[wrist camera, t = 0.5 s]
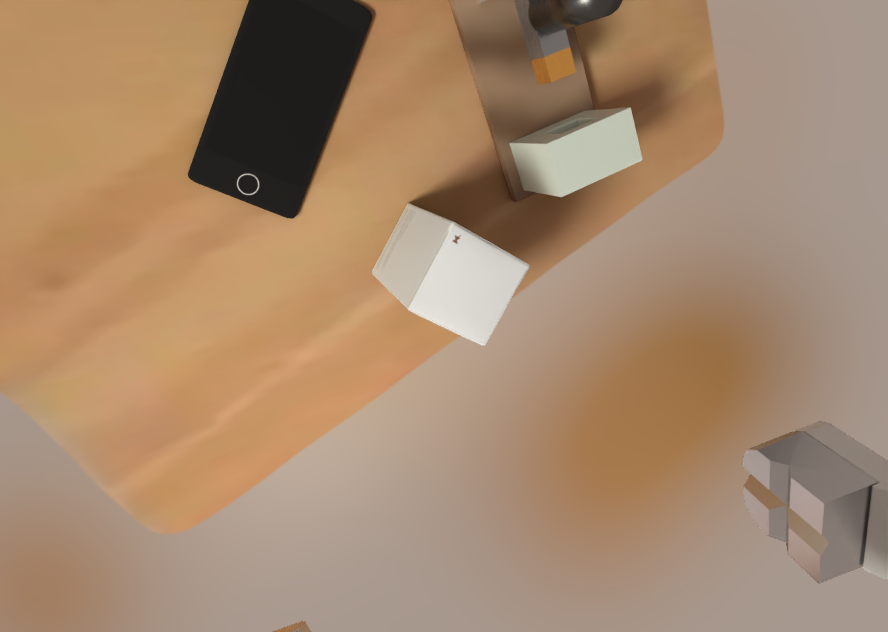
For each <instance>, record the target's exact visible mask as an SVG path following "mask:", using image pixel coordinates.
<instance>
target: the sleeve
mask: <svg viewBox="0 0 888 632" xmlns="http://www.w3.org/2000/svg"><path fill="white" fill-rule="evenodd" d="M477 1H478V4H481V3H484V2H487V1H489V0H477Z"/></svg>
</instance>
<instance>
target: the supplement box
mask: <svg viewBox="0 0 888 632" xmlns="http://www.w3.org/2000/svg"><path fill="white" fill-rule="evenodd" d="M528 269H529V265H528V264H527V263H525V262H524V261H522V260H520V259H518V258H517V257H515V256H513V255H511V254H510V253H508V252H506V251H504V250H503V249H501V248H499V247H497V246H496V245H494V244H492V243H491V242H489V241H487V240H485V239H483V238H482V237H480V236H478V235H476V234H474V233H473V232H471V231H469V230H467V229H466V228H464V227H462V226H460V225H459V224H457V223H455V222H453V221H451V220H449V219H446V218H444V217H441V216H439V215H437V214H434V213H432V212H429V211H427V210H424V209H422V208H419V207H417V206H415V205H412V204H410V203H408V204H407V206H406V208H405V210H404V212H403V213H402V215H401V217H400V219H399V221H398V223H397V225H396V227H395V228H394V230H393V232H392V234H391V236H390V238H389V240H388V242H387V243H386V245H385V247H384V249H383V251H382V253H381V255H380V257H379V259H378V261H377V262H376V264H375V266H374V268H373V270H372V274H373V275H374V276H375V277H376V278H377V279H378V280H379V281H380V282H381V283H382V284H383V285H384V286H385V287H386V288H387V289H388V290H389V291H390V292H391V293H392V294H393V295H394V296H395V297H396V298H397V299H398V300H399V301H400V302H401V303H402V304H403V305H404V306H405V307H406V308H407V309H408V310H409V311H411V312H413V313H415V314H417V315H419V316H421V317H423V318H425V319H427V320H429V321H431V322H433V323H435V324H437V325H439V326H441V327H443V328H446V329H448V330H450V331H452V332H454V333H456V334H458V335H460V336H463V337H465V338H467V339H469V340H471V341H473V342H475V343H478V344H480V345H482V346H485V345H486V343H487V341H488V339H489V337H490V336H491V333H492V332H493V330H494V329H495V327H496V325H497V323H498V321H499V319H500V318H501V316H502V314H503V312H504V310H505V309H506V307H507V305H508V303H509V302H510V300H511V298H512V297H513V295H514V293H515V291H516V290H517V288H518V286H519V285H520V283H521V281H522V280H523V278H524V276H525V274H526V273H527V271H528Z"/></svg>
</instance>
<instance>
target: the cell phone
mask: <svg viewBox="0 0 888 632" xmlns="http://www.w3.org/2000/svg"><path fill="white" fill-rule="evenodd" d="M371 19H372V14H371V12H370V11H369V10H368V9H367V8H365V7H364V6H362V5H360V4H359V3H357V2H355V1H353V0H249V2H248V5H247V8H246V11H245V13H244V16H243V19H242V22H241V25H240V28H239V30H238V33H237V36H236V39H235V42H234V45H233V47H232V50H231V53H230V56H229V59H228V62H227V64H226V67H225V70H224V73H223V76H222V78H221V81H220V84H219V87H218V90H217V93H216V95H215V98H214V101H213V104H212V107H211V110H210V112H209V115H208V118H207V121H206V124H205V127H204V129H203V132H202V135H201V138H200V141H199V144H198V146H197V149H196V152H195V155H194V158H193V161H192V163H191V166H190V169H189V172H188V176H189V178H190V179H191V180H193V181H194V182H196V183H199V184H201V185H204V186H206V187H209V188H211V189H214V190H216V191H219V192H222V193H224V194H227V195H229V196H232V197H234V198H237V199H240V200H242V201H245V202H247V203H250V204H252V205H255V206H258V207H260V208H263V209H265V210H268V211H270V212H273V213H276V214H278V215H281V216H283V217H287V218H294V217H295V216H296V215H297V212H298V210H299V207H300V205H301V202H302V199H303V197H304V194H305V191H306V189H307V186H308V184H309V181H310V178H311V176H312V173H313V171H314V168H315V165H316V163H317V160H318V158H319V155H320V152H321V150H322V147H323V144H324V142H325V139H326V137H327V134H328V131H329V129H330V126H331V124H332V121H333V118H334V116H335V113H336V111H337V108H338V105H339V103H340V100H341V97H342V95H343V92H344V90H345V87H346V84H347V82H348V79H349V77H350V74H351V71H352V69H353V66H354V64H355V61H356V58H357V56H358V53H359V50H360V48H361V45H362V43H363V40H364V37H365V35H366V32H367V30H368V27H369V24H370V22H371Z"/></svg>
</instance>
